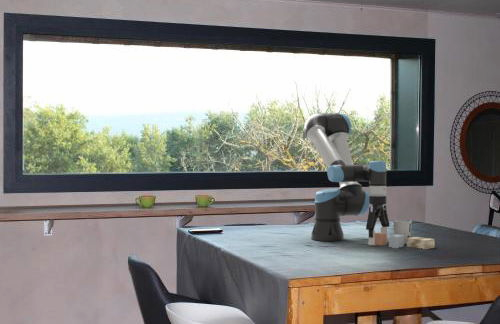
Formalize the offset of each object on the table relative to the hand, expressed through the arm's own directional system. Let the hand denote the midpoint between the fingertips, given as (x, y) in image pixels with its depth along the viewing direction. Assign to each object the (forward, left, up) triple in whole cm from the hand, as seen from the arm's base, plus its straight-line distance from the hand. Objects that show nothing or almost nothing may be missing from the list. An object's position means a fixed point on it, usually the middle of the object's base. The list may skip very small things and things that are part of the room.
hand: (378, 243), depth 299 cm
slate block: (+10, -3, -1) cm, 10 cm away
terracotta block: (0, 0, -1) cm, 1 cm away
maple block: (+19, +2, -1) cm, 19 cm away
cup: (+8, +9, -1) cm, 12 cm away
